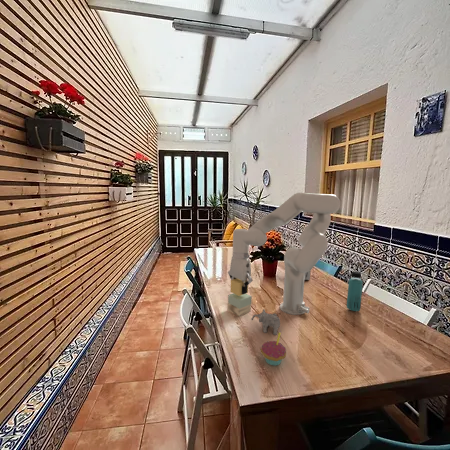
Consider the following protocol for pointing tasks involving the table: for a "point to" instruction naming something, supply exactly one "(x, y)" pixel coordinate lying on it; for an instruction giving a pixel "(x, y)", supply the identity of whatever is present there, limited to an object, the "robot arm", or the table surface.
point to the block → (237, 287)
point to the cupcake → (273, 351)
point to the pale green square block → (239, 300)
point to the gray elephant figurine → (268, 321)
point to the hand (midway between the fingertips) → (239, 291)
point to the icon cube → (307, 276)
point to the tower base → (238, 311)
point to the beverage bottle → (354, 292)
